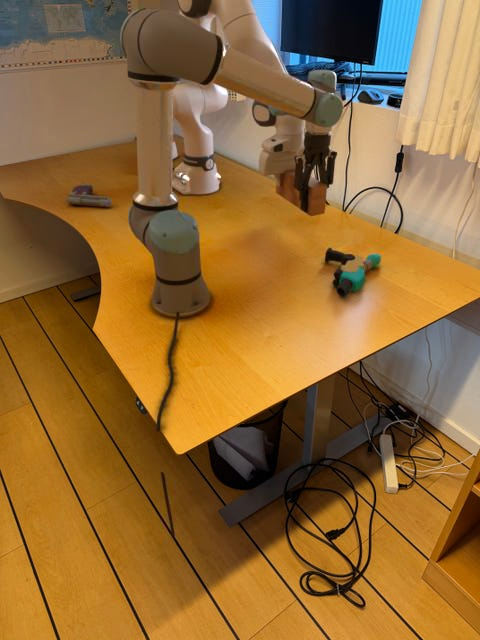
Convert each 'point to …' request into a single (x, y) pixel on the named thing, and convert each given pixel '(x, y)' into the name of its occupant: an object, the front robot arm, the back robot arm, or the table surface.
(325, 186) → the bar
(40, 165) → the table surface
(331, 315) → the table surface
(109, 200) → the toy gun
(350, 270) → the toy gun
